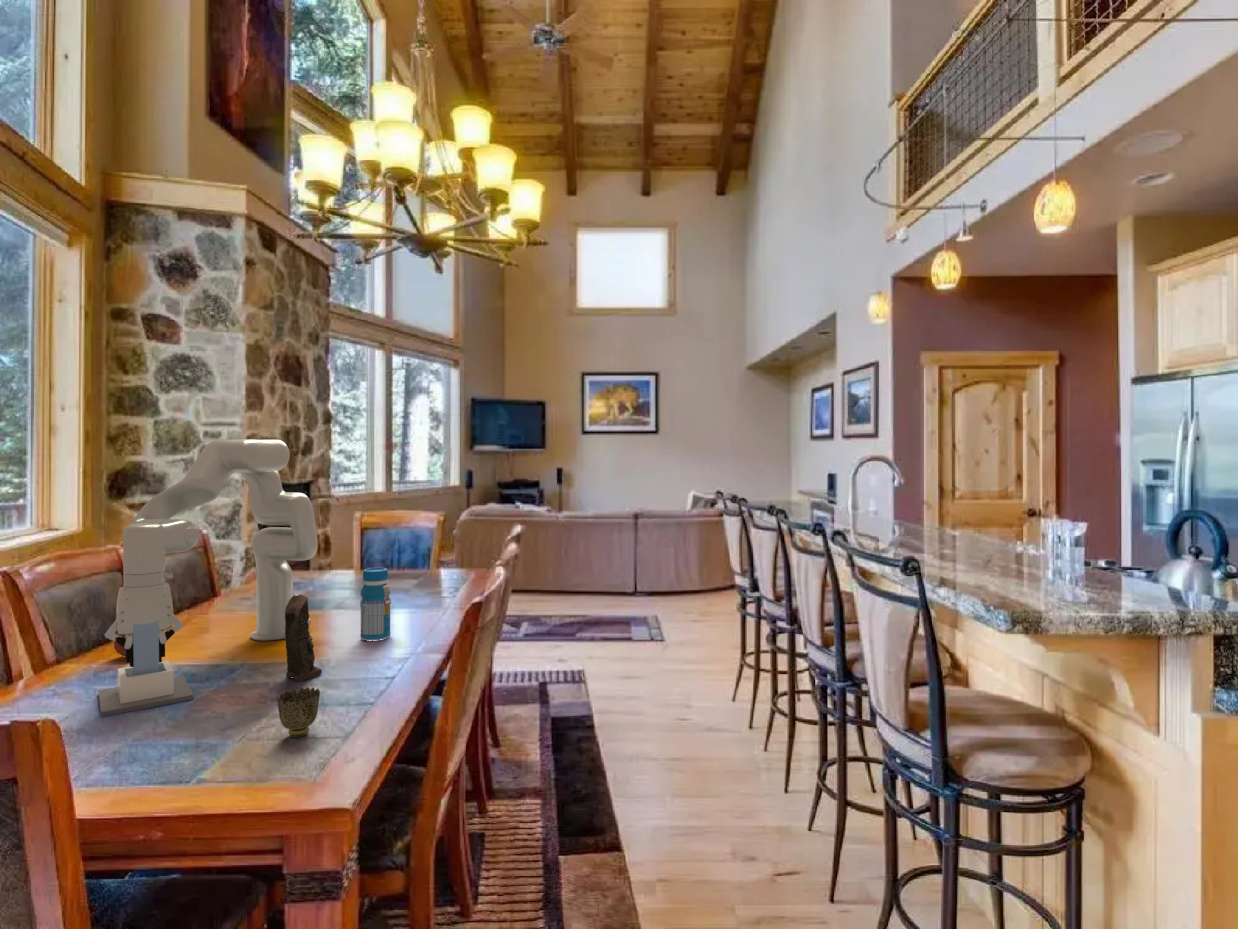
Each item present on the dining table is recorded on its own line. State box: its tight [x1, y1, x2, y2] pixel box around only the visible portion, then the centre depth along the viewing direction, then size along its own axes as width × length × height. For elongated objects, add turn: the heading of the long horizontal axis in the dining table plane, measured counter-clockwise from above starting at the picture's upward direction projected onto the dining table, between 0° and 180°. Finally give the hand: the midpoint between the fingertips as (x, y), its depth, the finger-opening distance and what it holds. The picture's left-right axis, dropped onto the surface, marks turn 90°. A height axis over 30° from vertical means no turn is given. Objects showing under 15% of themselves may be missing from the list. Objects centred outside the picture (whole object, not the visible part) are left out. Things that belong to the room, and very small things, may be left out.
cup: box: [276, 687, 321, 739], centre depth 130 cm, size 8×7×8 cm
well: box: [97, 660, 194, 718], centre depth 150 cm, size 16×16×6 cm
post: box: [132, 620, 159, 676], centre depth 150 cm, size 4×4×15 cm
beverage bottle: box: [359, 567, 392, 642], centre depth 197 cm, size 8×8×20 cm
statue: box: [284, 594, 323, 682], centre depth 163 cm, size 7×7×20 cm
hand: (145, 662), depth 150 cm, fingers closed on post, 4 cm apart
